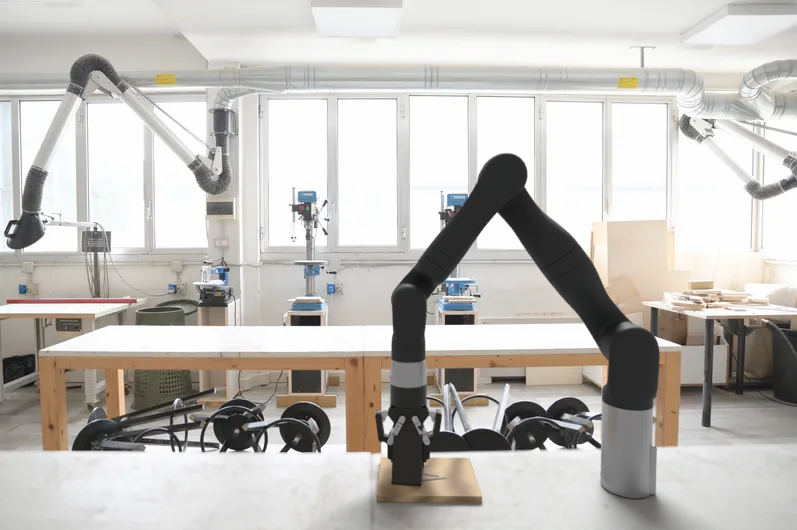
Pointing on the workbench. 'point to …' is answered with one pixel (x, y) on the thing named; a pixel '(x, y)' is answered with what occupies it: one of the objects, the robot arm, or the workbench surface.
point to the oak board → (432, 483)
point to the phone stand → (408, 455)
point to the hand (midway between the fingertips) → (408, 460)
